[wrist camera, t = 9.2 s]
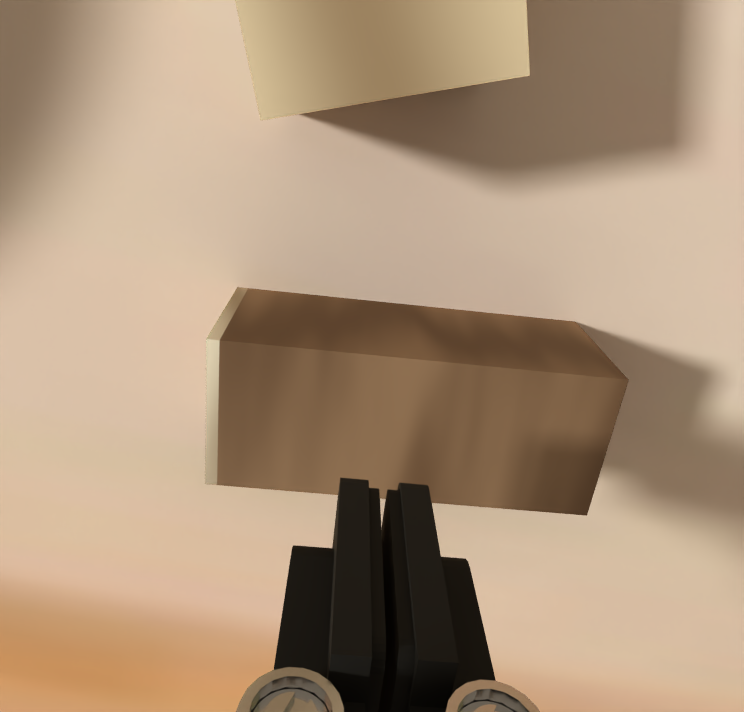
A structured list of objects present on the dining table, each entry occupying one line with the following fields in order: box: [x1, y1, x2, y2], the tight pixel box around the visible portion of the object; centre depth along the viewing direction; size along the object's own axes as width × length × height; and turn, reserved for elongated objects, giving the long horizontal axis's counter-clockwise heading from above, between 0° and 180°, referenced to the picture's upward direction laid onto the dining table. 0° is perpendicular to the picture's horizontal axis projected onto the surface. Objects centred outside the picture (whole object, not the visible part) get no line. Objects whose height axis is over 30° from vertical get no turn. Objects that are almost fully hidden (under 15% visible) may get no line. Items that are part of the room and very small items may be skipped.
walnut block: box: [205, 287, 628, 515], centre depth 17 cm, size 4×4×10 cm
